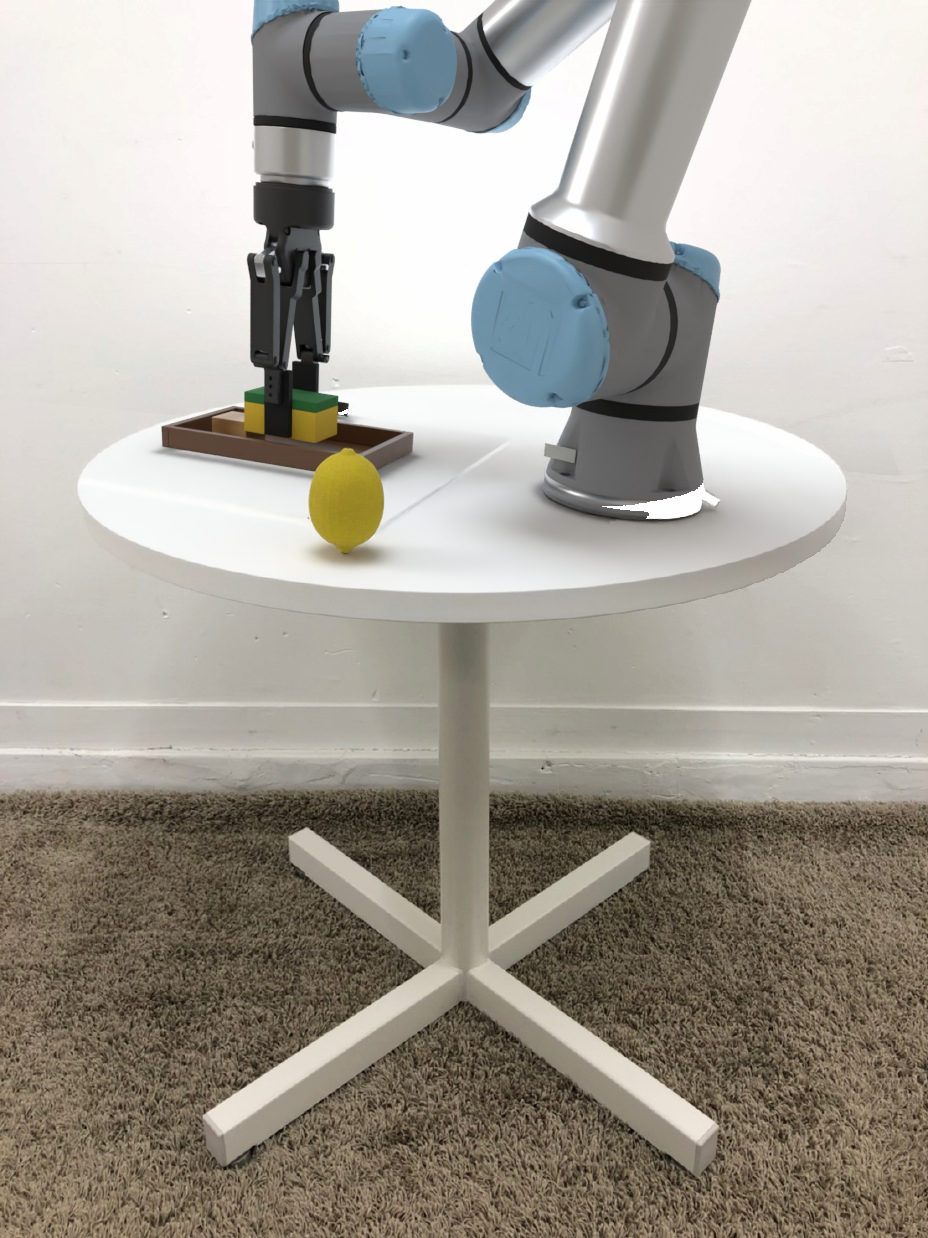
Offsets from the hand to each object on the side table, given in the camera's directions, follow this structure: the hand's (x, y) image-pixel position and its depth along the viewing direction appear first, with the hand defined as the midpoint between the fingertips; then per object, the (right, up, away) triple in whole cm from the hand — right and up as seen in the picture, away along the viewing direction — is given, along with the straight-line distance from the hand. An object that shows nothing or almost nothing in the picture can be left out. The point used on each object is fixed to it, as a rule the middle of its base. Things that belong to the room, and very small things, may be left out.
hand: (291, 430), depth 99 cm
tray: (0, -2, +1) cm, 3 cm away
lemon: (+9, -15, -26) cm, 31 cm away
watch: (0, +5, +18) cm, 19 cm away
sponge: (0, 0, 0) cm, 0 cm away
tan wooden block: (-6, -1, +2) cm, 6 cm away
